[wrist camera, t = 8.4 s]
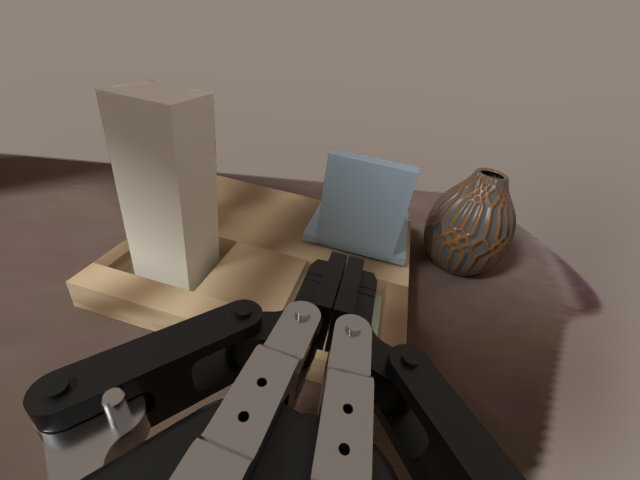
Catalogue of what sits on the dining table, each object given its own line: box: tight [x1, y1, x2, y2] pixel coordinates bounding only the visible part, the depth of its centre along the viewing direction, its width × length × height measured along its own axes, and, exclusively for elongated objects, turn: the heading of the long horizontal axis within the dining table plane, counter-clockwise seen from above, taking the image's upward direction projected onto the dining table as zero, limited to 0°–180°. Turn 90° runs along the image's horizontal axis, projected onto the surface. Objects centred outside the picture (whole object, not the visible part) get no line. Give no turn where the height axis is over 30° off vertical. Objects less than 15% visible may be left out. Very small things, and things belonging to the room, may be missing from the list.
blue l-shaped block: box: [302, 149, 419, 266], centre depth 27 cm, size 8×8×7 cm
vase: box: [424, 168, 516, 276], centre depth 28 cm, size 7×7×9 cm
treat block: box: [95, 80, 219, 292], centre depth 21 cm, size 4×4×12 cm
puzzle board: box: [66, 175, 411, 384], centre depth 26 cm, size 20×18×2 cm
